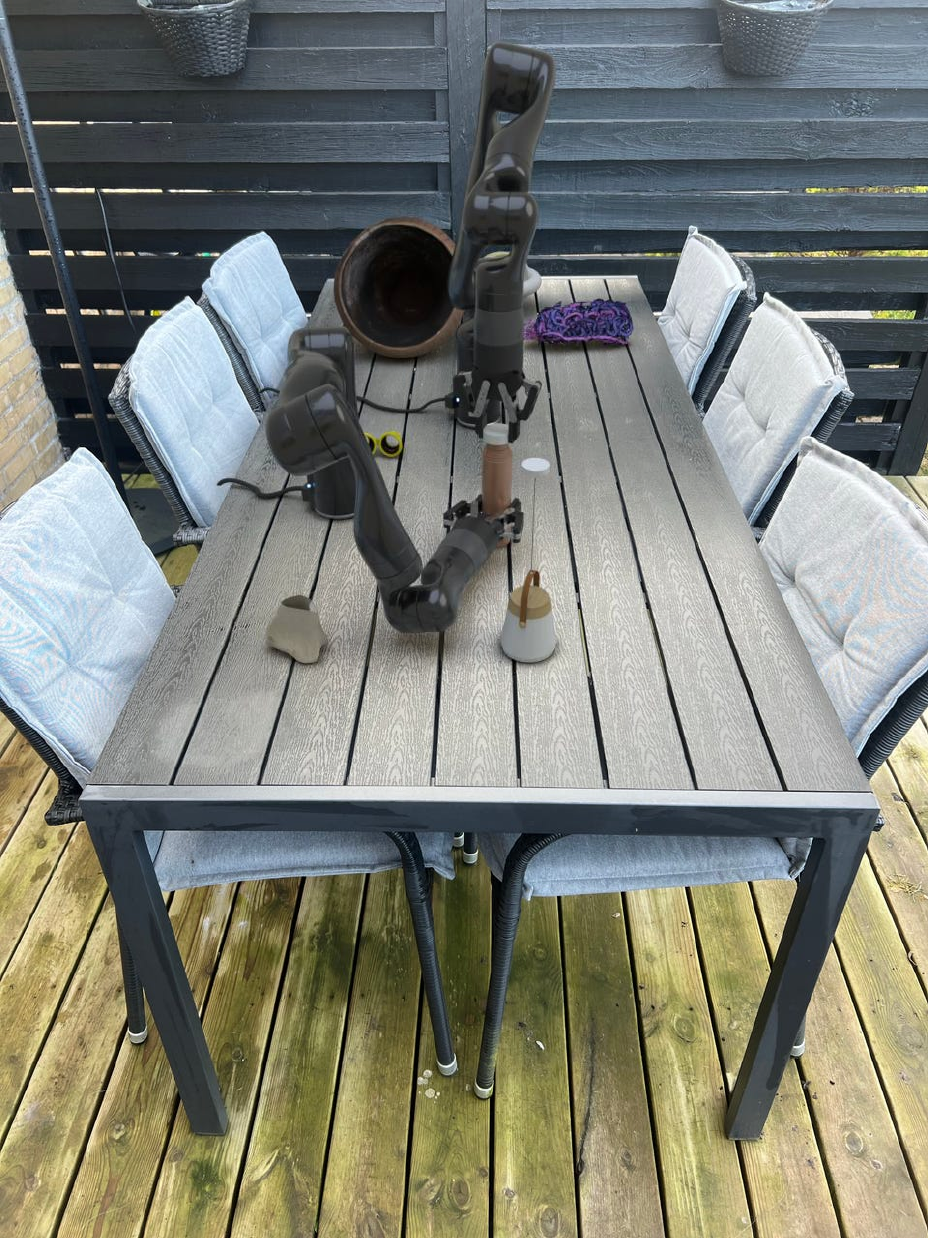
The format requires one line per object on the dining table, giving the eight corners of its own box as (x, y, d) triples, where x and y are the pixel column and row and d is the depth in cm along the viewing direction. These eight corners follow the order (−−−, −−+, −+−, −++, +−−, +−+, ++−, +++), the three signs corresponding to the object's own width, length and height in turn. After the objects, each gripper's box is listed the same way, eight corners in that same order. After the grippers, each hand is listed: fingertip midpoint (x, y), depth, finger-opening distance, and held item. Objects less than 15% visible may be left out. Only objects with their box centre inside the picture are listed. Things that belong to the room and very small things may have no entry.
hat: (455, 295, 261) (454, 240, 252) (532, 292, 263) (534, 237, 254) (465, 327, 242) (464, 268, 233) (548, 323, 244) (550, 264, 235)
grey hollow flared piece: (327, 654, 140) (334, 590, 137) (317, 670, 132) (324, 604, 130) (268, 645, 140) (274, 582, 137) (255, 661, 132) (261, 594, 130)
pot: (369, 208, 238) (367, 184, 209) (481, 265, 243) (494, 249, 214) (320, 328, 244) (311, 320, 215) (430, 381, 249) (435, 380, 220)
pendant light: (546, 668, 133) (557, 484, 115) (492, 656, 136) (495, 473, 117) (562, 635, 139) (574, 455, 121) (510, 624, 142) (515, 445, 123)
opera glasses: (402, 450, 189) (400, 426, 187) (403, 457, 184) (401, 432, 182) (354, 452, 188) (352, 428, 186) (354, 460, 184) (352, 435, 182)
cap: (482, 431, 151) (482, 423, 150) (511, 431, 151) (511, 423, 150) (482, 445, 148) (482, 436, 147) (512, 445, 147) (512, 436, 146)
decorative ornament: (640, 324, 222) (516, 326, 219) (631, 360, 231) (512, 363, 228) (629, 291, 230) (509, 293, 227) (621, 327, 238) (506, 329, 236)
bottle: (509, 531, 163) (512, 425, 151) (511, 547, 159) (513, 439, 147) (481, 532, 163) (481, 425, 151) (482, 547, 159) (482, 439, 147)
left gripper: (507, 539, 142) (542, 487, 155) (422, 521, 146) (462, 472, 159) (506, 579, 147) (540, 526, 159) (423, 561, 151) (463, 510, 164)
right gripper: (551, 331, 140) (546, 435, 150) (462, 320, 144) (463, 422, 154) (537, 349, 134) (533, 456, 145) (445, 337, 138) (447, 442, 149)
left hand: (501, 499), depth 159 cm, fingers closed on bottle, 5 cm apart
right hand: (497, 438), depth 149 cm, fingers closed on cap, 4 cm apart
